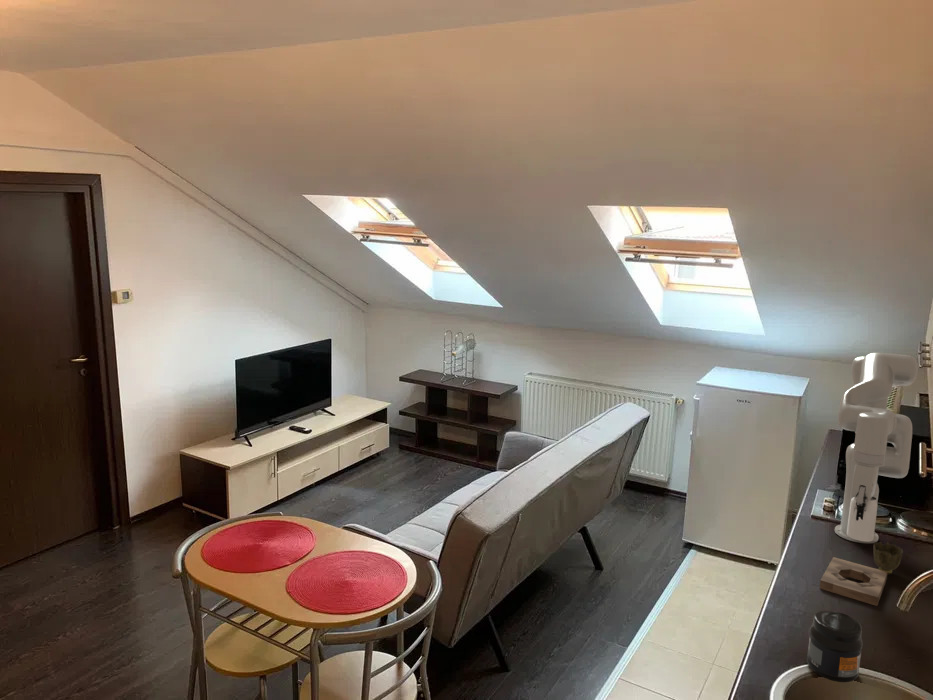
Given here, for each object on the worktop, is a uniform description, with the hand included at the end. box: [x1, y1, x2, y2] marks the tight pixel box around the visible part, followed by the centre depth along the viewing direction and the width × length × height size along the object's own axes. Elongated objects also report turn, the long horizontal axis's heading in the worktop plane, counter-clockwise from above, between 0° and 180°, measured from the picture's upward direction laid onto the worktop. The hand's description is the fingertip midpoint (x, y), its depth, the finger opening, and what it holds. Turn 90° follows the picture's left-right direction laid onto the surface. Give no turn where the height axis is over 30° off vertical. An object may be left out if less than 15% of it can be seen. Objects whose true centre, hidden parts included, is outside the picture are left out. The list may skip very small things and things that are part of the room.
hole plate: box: [819, 556, 888, 607], centre depth 189 cm, size 18×14×2 cm
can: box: [847, 495, 878, 542], centre depth 186 cm, size 6×6×12 cm
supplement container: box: [806, 609, 864, 683], centre depth 151 cm, size 10×10×12 cm
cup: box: [872, 541, 904, 576], centre depth 196 cm, size 8×7×8 cm
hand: (861, 519), depth 187 cm, fingers closed on can, 4 cm apart
